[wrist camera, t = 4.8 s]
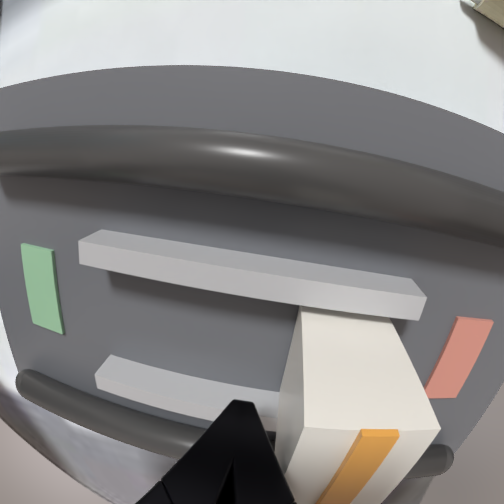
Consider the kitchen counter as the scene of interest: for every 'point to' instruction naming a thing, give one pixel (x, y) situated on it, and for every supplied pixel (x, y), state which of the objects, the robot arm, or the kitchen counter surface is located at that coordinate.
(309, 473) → the knob
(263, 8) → the kitchen counter surface
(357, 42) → the kitchen counter surface
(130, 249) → the panel
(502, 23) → the cable
